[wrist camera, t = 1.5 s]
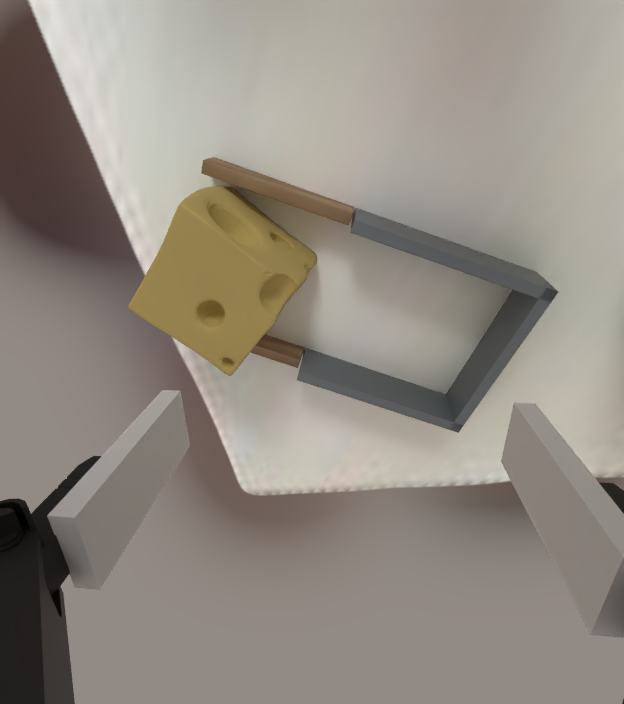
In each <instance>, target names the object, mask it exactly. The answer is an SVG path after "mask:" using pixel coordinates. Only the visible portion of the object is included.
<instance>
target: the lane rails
mask: <svg viewBox="0 0 624 704" xmlns="http://www.w3.org/2000/svg"><path fill="white" fill-rule="evenodd" d="M201 173H202V174H205V175H208V176H210V177H213V178H216V179H219V180H222V181H225V182H227V183H230V184H233V185H236V186H239V187H242V188H244V189H247V190H250V191H253V192H256V193H259V194H261V195H264V196H267V197H270V198H273V199H276V200H278V201H281V202H284V203H287V204H290V205H293V206H295V207H298V208H301V209H304V210H307V211H310V212H312V213H315V214H318V215H321V216H324V217H327V218H329V219H332V220H335V221H338V222H341V223H344V224H346V225H349V222H350V220H351V217H352V214H353V208H354V207H352V206H349V205H346V204H343V203H341V202H338V201H335V200H332V199H329V198H327V197H324V196H321V195H318V194H315V193H313V192H310V191H307V190H304V189H301V188H299V187H296V186H293V185H290V184H287V183H285V182H282V181H279V180H276V179H273V178H271V177H268V176H265V175H262V174H259V173H256V172H254V171H251V170H248V169H245V168H242V167H240V166H237V165H234V164H231V163H228V162H226V161H223V160H220V159H217V158H214V157H213V158H209V159H206V160H203V165H202V172H201ZM303 349H304V348H303V347H300V346H297V345H294V344H291V343H288V342H285V341H282V340H279V339H276V338H273V337H270V336H267V335H264V336H263V337H262V338H261V339H260V340H259V342H258V343H257V344H256V345H255V346H254V348H253V349H252V350H251V351H250V352H251V353H254V354H257V355H260V356H263V357H266V358H269V359H272V360H275V361H278V362H281V363H284V364H287V365H290V366H294V367H297V368H298V365H299V363H300V360H301V356H302V352H303Z"/></svg>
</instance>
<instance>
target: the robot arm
mask: <svg viewBox="0 0 624 704" xmlns="http://www.w3.org/2000/svg"><path fill="white" fill-rule="evenodd" d="M189 446H190V444H189V438H188V433H187V427H186V421H185V415H184V410H183V404H182V398H181V392H180V391H168V390H162V391H161V393H160V394H159V395H158V396H157V397H156V398H155V399H154V400H153V401H152V402H151V403H150V405H148V407H147V408H146V409H145V410H144V411H143V412H142V413H141V414H140V415H139V416H138V417H137V419H136V420H135V421H134V422H133V423H132V424H131V425H130V426H129V427H128V428H127V429H126V431H125V432H124V433H123V434H122V435H121V436H120V437H119V438H118V439H117V440H116V441H115V442H114V444H113V445H112V446H111V447H110V448H109V449H108V450H107V451H106V452H105V453H104V454H103V456H93V457H91V458H90V459H88V460H86V461H85V462H83V463H81V464H80V465H78V466H77V467H76V468H75V469H74V471H72V472H71V474H70V475H69V476H68V477H67V479H65V480H64V481H63V482H62V483H61V484H60V485H59V486H58V489H55V490H54V491H53V492H52V493H51V494H50V495H49V496H48V497H47V498H46V499H45V500H44V501H43V502H42V503H41V504H40V505H39V507H38V508H36V509H35V511H34V512H33V513H32V514H30V511H29V508H28V506H27V504H26V502H25V501H23V500H21V499H7V500H3V501H0V704H75V703H74V693H73V684H72V673H71V664H70V654H69V644H68V635H67V625H66V616H65V607H64V597H63V592H62V589H61V587H60V586H61V584H62V583H63V582H64V580H65V579H66V577H67V576H68V575H69V574H70V576H71V578H72V581H73V584H74V586H75V587H76V588H86V589H97V590H100V589H101V587H102V586H103V584H104V582H105V581H106V579H107V578H108V576H109V574H110V573H111V571H112V570H113V568H114V566H115V565H116V563H117V562H118V560H119V558H120V557H121V555H122V554H123V552H124V550H125V549H126V547H127V545H128V544H129V542H130V541H131V539H132V537H133V536H134V534H135V533H136V531H137V529H138V528H139V526H140V525H141V523H142V522H143V520H144V518H145V517H146V515H147V514H148V512H149V510H150V509H151V507H152V505H153V504H154V502H155V501H156V499H157V498H158V496H159V494H160V493H161V491H162V490H163V488H164V486H165V485H166V483H167V482H168V480H169V478H170V477H171V475H172V474H173V472H174V470H175V469H176V467H177V466H178V464H179V462H180V461H181V459H182V458H183V456H184V454H185V453H186V451H187V449H188V448H189ZM501 462H502V464H503V466H504V468H505V470H506V472H507V474H508V476H509V478H510V480H511V482H512V484H513V485H514V487H515V489H516V491H517V493H518V495H519V497H520V499H521V500H522V503H523V505H524V507H525V509H526V511H527V512H528V515H529V516H530V518H531V520H532V522H533V524H534V526H535V528H536V530H537V532H538V534H539V536H540V538H541V540H542V542H543V543H544V546H545V547H546V549H547V551H548V553H549V555H550V557H551V559H552V561H553V563H554V565H555V567H556V569H557V571H558V573H559V574H560V576H561V579H562V580H563V582H564V584H565V586H566V588H567V590H568V592H569V594H570V596H571V598H572V600H573V602H574V604H575V606H576V607H577V610H578V611H579V613H580V615H581V617H582V619H583V621H584V623H585V625H586V627H587V629H588V631H589V633H590V634H591V635H602V636H613V637H624V491H623V490H622V489H620V488H619V487H618V486H616V485H615V484H613V483H599V482H598V481H597V480H596V479H595V477H594V476H593V475H592V474H591V472H590V471H589V470H588V469H587V467H586V466H585V465H584V464H583V462H582V461H581V460H580V459H579V458H578V456H577V455H576V454H575V453H574V451H573V450H572V449H571V448H570V446H569V445H568V444H567V443H566V441H565V440H564V439H563V438H562V436H561V435H560V434H559V433H558V431H557V430H556V429H555V428H554V426H553V425H552V424H551V423H550V421H549V420H548V419H547V418H546V416H545V415H544V414H543V413H542V411H541V410H540V409H539V408H538V406H537V405H536V404H531V403H514V405H513V410H512V414H511V419H510V423H509V428H508V433H507V437H506V442H505V446H504V451H503V455H502V460H501ZM623 704H624V700H623Z"/></svg>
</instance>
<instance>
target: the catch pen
mask: <svg viewBox="0 0 624 704" xmlns="http://www.w3.org/2000/svg"><path fill="white" fill-rule="evenodd" d="M351 233H354V234H356V235H359V236H362V237H365V238H368V239H371V240H374V241H376V242H379V243H382V244H385V245H388V246H391V247H393V248H396V249H399V250H402V251H405V252H408V253H410V254H413V255H416V256H419V257H422V258H425V259H427V260H430V261H433V262H436V263H439V264H442V265H445V266H447V267H450V268H453V269H456V270H459V271H462V272H464V273H467V274H470V275H473V276H476V277H479V278H481V279H484V280H487V281H490V282H493V283H496V284H498V285H501V286H504V287H507V288H510V289H513V291H512V293H511V294H510V296H509V297H508V299H507V300H506V302H505V304H504V305H503V307H502V308H501V310H500V311H499V313H498V315H497V316H496V318H495V319H494V321H493V322H492V324H491V325H490V327H489V329H488V330H487V332H486V333H485V335H484V336H483V338H482V339H481V341H480V343H479V344H478V346H477V347H476V349H475V350H474V352H473V354H472V355H471V357H470V358H469V360H468V361H467V363H466V364H465V366H464V368H463V369H462V371H461V372H460V374H459V375H458V377H457V379H456V380H455V382H454V383H453V385H452V386H451V388H450V389H449V391H448V393H447V394H446V395H445V394H442V393H439V392H436V391H433V390H430V389H427V388H424V387H421V386H418V385H415V384H412V383H409V382H406V381H403V380H400V379H397V378H394V377H391V376H388V375H385V374H382V373H379V372H376V371H373V370H370V369H367V368H364V367H361V366H358V365H355V364H352V363H349V362H346V361H343V360H340V359H337V358H334V357H331V356H328V355H324V354H321V353H318V352H315V351H312V350H309V349H306V350H305V353H304V355H303V359H302V363H301V367H300V370H299V374H298V378H297V380H299V381H302V382H305V383H308V384H311V385H314V386H317V387H320V388H324V389H327V390H330V391H333V392H336V393H339V394H342V395H345V396H348V397H351V398H354V399H357V400H360V401H363V402H366V403H369V404H373V405H376V406H379V407H382V408H385V409H388V410H391V411H394V412H397V413H400V414H403V415H406V416H409V417H412V418H415V419H418V420H421V421H425V422H428V423H431V424H434V425H437V426H440V427H443V428H446V429H449V430H452V431H455V432H459V431H460V430H461V428H462V427H463V425H464V424H465V422H466V421H467V420H468V418H469V417H470V415H471V414H472V413H473V411H474V410H475V408H476V407H477V406H478V404H479V403H480V401H481V400H482V399H483V397H484V396H485V394H486V393H487V392H488V390H489V389H490V387H491V386H492V385H493V383H494V382H495V380H496V379H497V377H498V376H499V375H500V373H501V372H502V370H503V369H504V368H505V366H506V365H507V363H508V362H509V361H510V359H511V358H512V356H513V355H514V354H515V352H516V351H517V349H518V348H519V347H520V345H521V344H522V342H523V341H524V339H525V338H526V337H527V335H528V334H529V332H530V331H531V330H532V328H533V327H534V325H535V324H536V323H537V321H538V320H539V318H540V317H541V316H542V314H543V313H544V311H545V310H546V309H547V307H548V306H549V304H550V303H551V302H552V300H553V299H554V297H555V296H556V294H557V293H558V291H557V290H556V289H555V288H554V287H552V286H551V285H550V284H549V283H548V282H547V281H546V280H545V279H544V278H543V277H542V276H540V275H539V274H538V273H537V272H534V271H532V270H529V269H526V268H523V267H520V266H517V265H515V264H512V263H509V262H506V261H503V260H501V259H498V258H495V257H492V256H489V255H487V254H484V253H481V252H478V251H475V250H473V249H470V248H467V247H464V246H461V245H459V244H456V243H453V242H450V241H447V240H445V239H442V238H439V237H436V236H433V235H430V234H428V233H425V232H422V231H419V230H416V229H414V228H411V227H408V226H405V225H402V224H400V223H397V222H394V221H391V220H388V219H386V218H383V217H380V216H377V215H374V214H372V213H369V212H366V211H363V210H360V209H358V208H356V211H355V213H354V216H353V219H352V225H351Z"/></svg>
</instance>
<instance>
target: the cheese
mask: <svg viewBox="0 0 624 704" xmlns="http://www.w3.org/2000/svg"><path fill="white" fill-rule="evenodd" d="M316 262H317V256H316V254H315V253H314V252H313V251H312V250H311V249H309V248H308V247H306V246H305V245H304V244H302V243H301V242H299V241H298V240H296V239H295V238H293V237H292V236H290V235H289V234H288V233H286V232H285V231H284V230H283V229H281V228H280V227H279V226H278V225H277V224H275V223H274V222H273V221H272V220H270V219H269V218H268V217H267V216H266V215H264V214H263V213H262V212H261V211H259V210H258V209H257V208H256V207H255V206H253V205H252V204H251V203H250V202H248V201H247V200H246V199H245V198H244V197H243V196H241V195H240V194H239V193H238V192H237V191H235V190H234V189H233V188H232V187H208V188H204V189H200V190H198V191H196V192H194V193H193V194H191V195H190V196H188V197H187V198H185V199H184V200H183V201H182V202H181V203H180V205H179V206H178V208H177V211H176V213H175V215H174V217H173V220H172V222H171V225H170V227H169V230H168V232H167V235H166V237H165V239H164V242H163V244H162V246H161V248H160V250H159V252H158V254H157V256H156V258H155V260H154V261H153V263H152V265H151V267H150V268H149V270H148V272H147V274H146V276H145V277H144V279H143V281H142V283H141V285H140V286H139V288H138V290H137V292H136V293H135V295H134V297H133V299H132V300H131V302H130V304H129V306H128V308H129V309H130V310H132V311H133V312H135V313H136V314H137V315H139V316H140V317H141V318H143V319H144V320H146V321H148V322H149V323H150V324H152V325H154V326H155V327H157V328H159V329H160V330H162V331H163V332H165V333H167V334H168V335H170V336H172V337H173V338H175V339H177V340H178V341H180V342H181V343H183V344H184V345H186V346H187V347H189V348H191V349H192V350H194V351H195V352H196V353H198V354H199V355H201V356H202V357H204V358H205V359H207V360H208V361H209V362H211V363H212V364H213V365H215V366H216V367H217V368H219V369H220V370H221V371H223V372H224V373H225V374H227V375H228V376H231V375H232V374H233V373H234V372H235V371H236V369H237V368H238V367H239V366H240V364H241V363H242V362H243V360H244V359H245V358H246V357H247V355H248V354H249V353H250V351H251V350H252V349H253V348H254V346H255V345H256V344H257V343H258V342H259V340H260V339H261V338H262V337H263V336H264V335H265V334H266V332H267V331H268V330H269V329H270V328H271V327H272V326H273V324H274V323H275V322H276V320H277V318H278V315H279V313H280V311H281V310H282V308H283V307H284V305H285V304H286V302H287V301H288V300H289V299H290V297H291V296H292V295H293V294H294V293H295V292H296V291H297V290H298V289H299V288H300V287H301V285H302V284H303V283H304V282H305V280H306V278H307V276H308V272H309V270H310V269H311V268H312V267H313V266H314V265H315V263H316Z"/></svg>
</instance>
